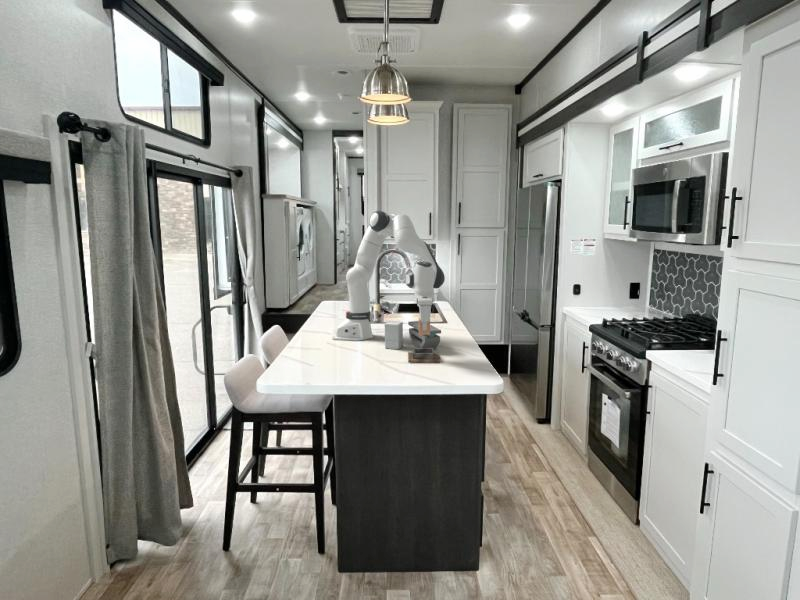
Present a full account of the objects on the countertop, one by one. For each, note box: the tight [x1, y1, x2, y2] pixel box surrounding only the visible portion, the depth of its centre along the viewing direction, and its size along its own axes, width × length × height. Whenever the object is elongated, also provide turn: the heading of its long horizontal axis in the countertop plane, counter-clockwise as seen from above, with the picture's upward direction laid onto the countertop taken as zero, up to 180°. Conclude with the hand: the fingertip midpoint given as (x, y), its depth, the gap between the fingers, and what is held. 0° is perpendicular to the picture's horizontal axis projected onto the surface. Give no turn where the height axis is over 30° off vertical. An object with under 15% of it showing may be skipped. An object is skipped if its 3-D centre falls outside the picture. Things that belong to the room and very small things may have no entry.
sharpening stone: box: [407, 320, 442, 350], centre depth 247 cm, size 25×8×11 cm, turn 18°
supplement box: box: [384, 320, 404, 350], centre depth 246 cm, size 7×7×13 cm
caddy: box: [407, 347, 441, 364], centre depth 226 cm, size 14×14×4 cm
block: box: [418, 317, 431, 335], centre depth 224 cm, size 5×5×7 cm
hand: (424, 328), depth 224 cm, fingers closed on block, 5 cm apart
